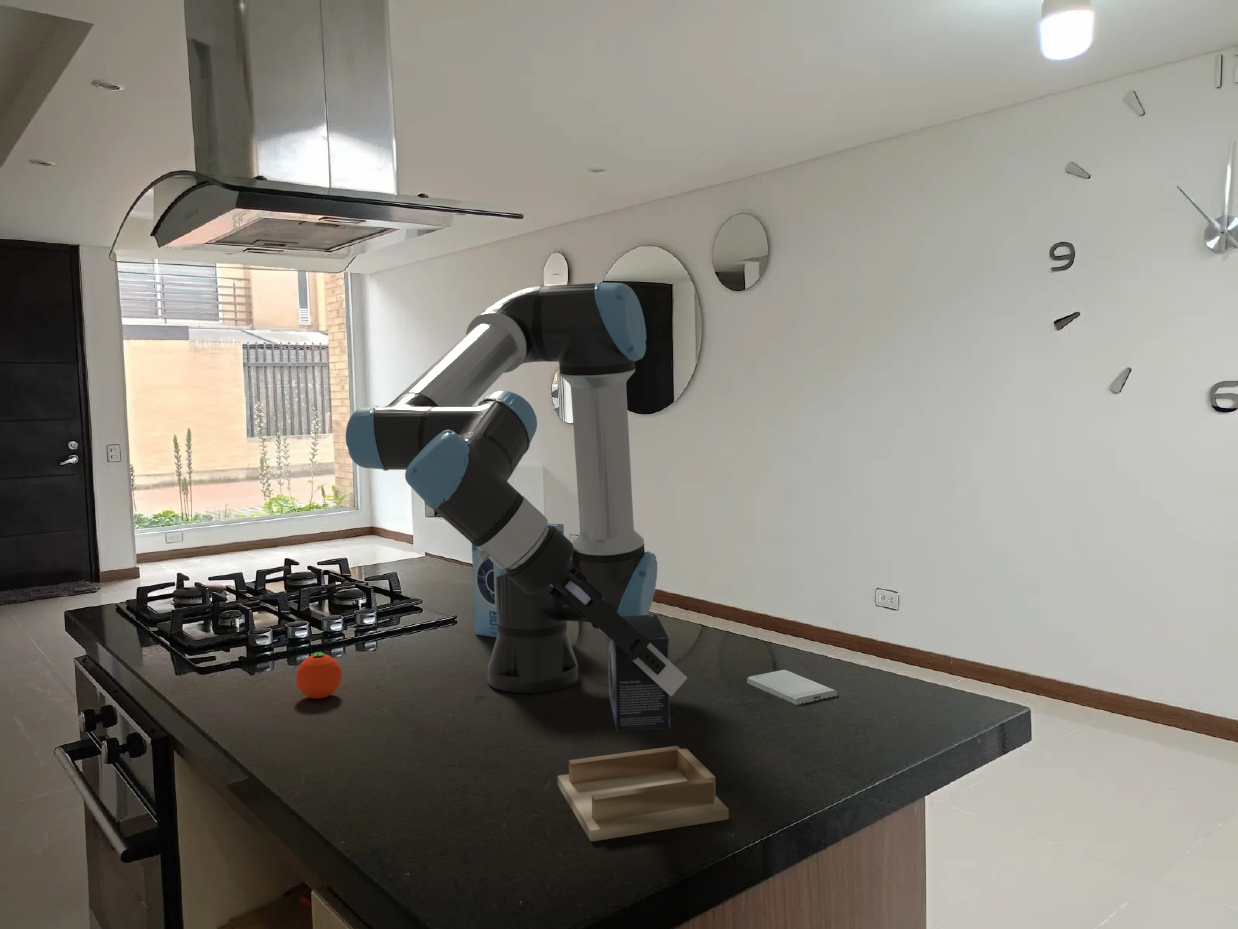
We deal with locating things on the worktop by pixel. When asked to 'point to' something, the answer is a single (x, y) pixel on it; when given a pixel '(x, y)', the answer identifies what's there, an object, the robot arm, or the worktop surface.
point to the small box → (638, 682)
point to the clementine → (318, 676)
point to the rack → (640, 792)
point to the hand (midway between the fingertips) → (659, 671)
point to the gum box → (487, 592)
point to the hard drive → (791, 687)
